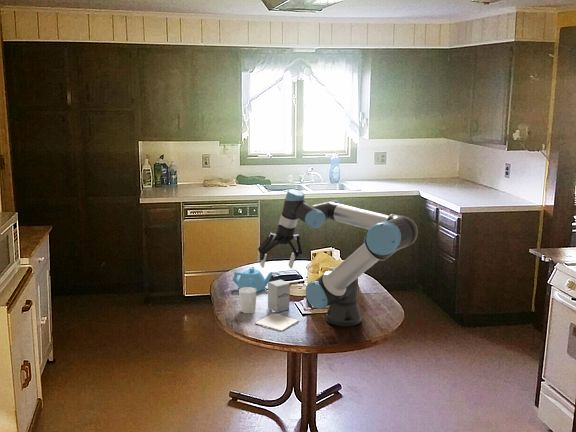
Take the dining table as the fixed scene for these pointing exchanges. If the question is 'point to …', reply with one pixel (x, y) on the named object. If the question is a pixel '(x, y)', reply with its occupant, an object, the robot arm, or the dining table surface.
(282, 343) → the dining table surface
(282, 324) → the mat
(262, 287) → the teapot
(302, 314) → the dining table surface
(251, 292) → the white cup
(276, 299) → the supplement box
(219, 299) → the dining table surface
